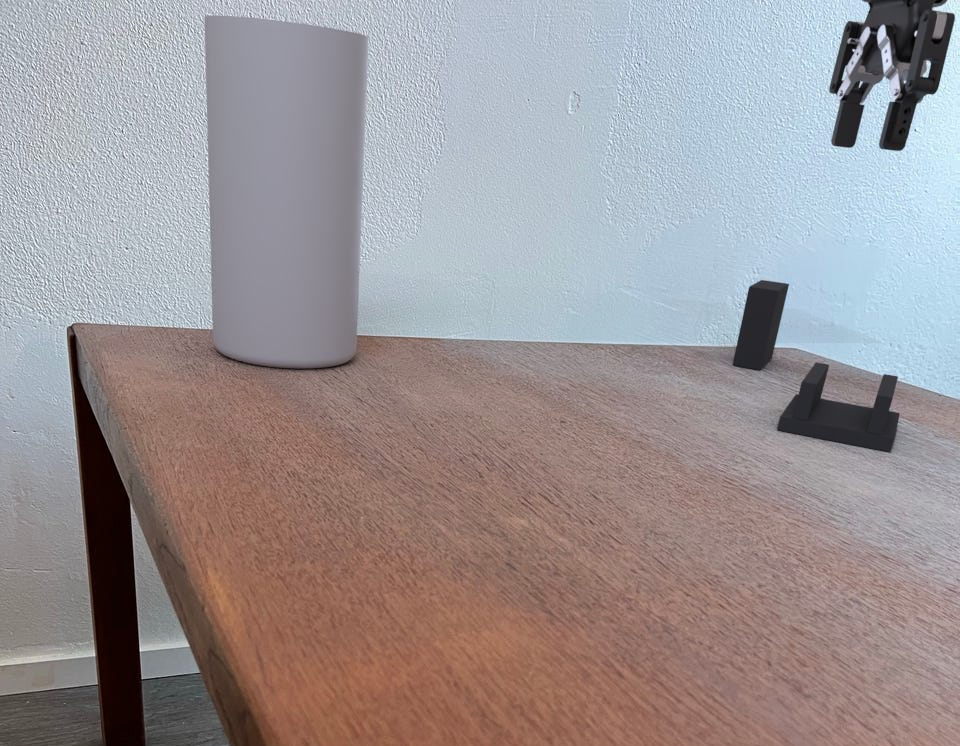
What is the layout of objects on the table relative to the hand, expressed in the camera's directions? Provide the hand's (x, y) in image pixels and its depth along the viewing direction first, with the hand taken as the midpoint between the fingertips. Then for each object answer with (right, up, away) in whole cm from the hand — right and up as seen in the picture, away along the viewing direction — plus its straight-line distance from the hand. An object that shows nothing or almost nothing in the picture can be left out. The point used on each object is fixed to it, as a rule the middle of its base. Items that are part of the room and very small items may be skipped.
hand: (865, 148), depth 92 cm
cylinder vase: (-53, -20, -3) cm, 57 cm away
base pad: (-5, -28, -8) cm, 29 cm away
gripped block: (-6, -16, +16) cm, 23 cm away
